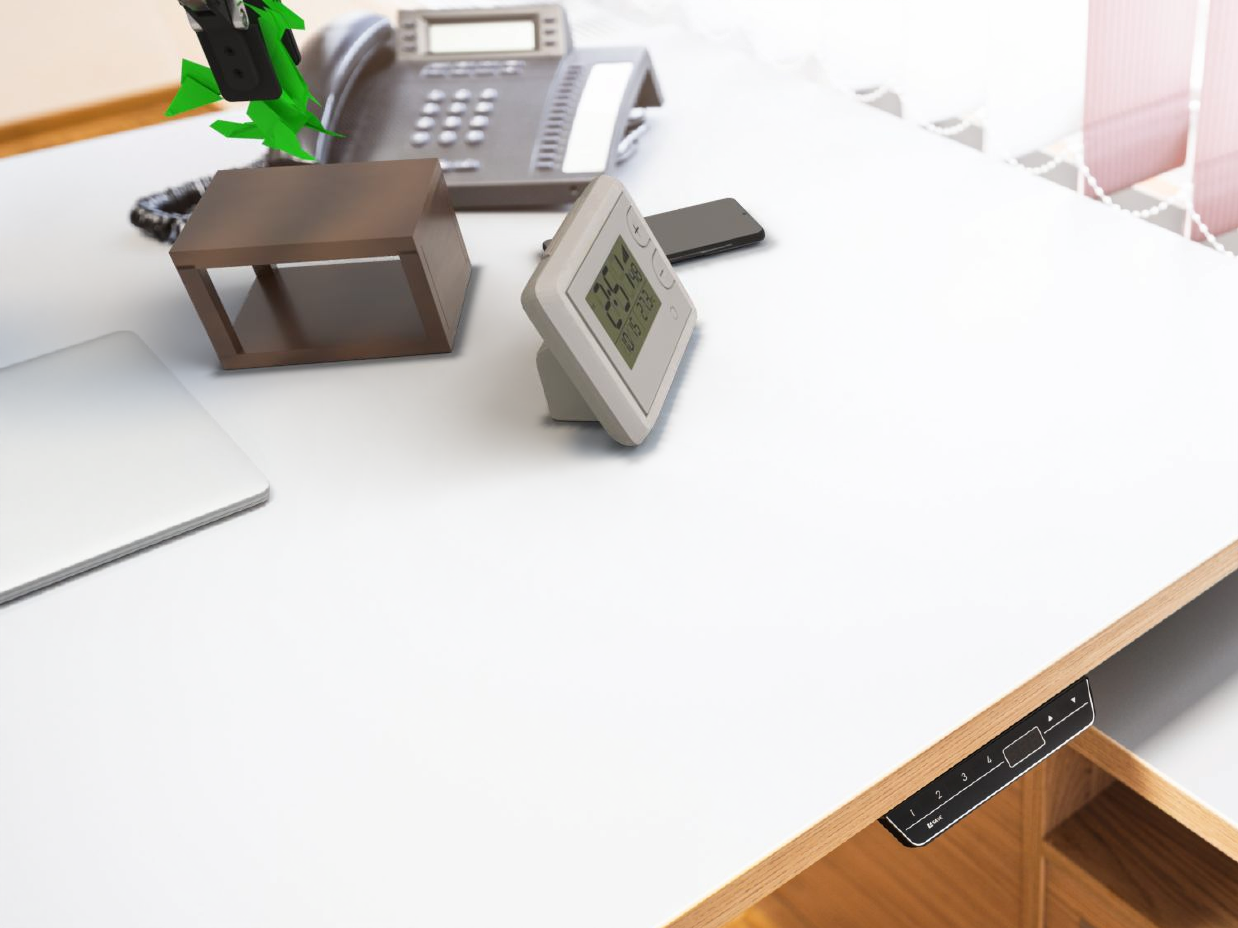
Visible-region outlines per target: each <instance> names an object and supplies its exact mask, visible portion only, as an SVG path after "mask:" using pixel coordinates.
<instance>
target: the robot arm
mask: <svg viewBox="0 0 1238 928" xmlns="http://www.w3.org/2000/svg"><path fill="white" fill-rule="evenodd" d="M177 1H178V4H179V6H180V7H182V8H183V9H184V11H185V14H186V17H187V21H188V23H189V26H190V28H191V30H192V31H193V32H194V33H195V35H196V37H197V39H198V42H199V44H200V46H201V48H202V52H203V54H204V56H205V60H206V61H207V63H208V66H209V68H210V69H211V71H212V73H213V76H214V78H215V81H216V83H217V86H218V88H219V90H220V93H221V95H220V96H221V97H222V98H223V100H224V101H226V102H229V103H241V102H250V101H263V100H277V99H279V98H280V96H281V95H282V88H281V85H280V83H279V80H278V77H277V75H276V72H275V70H274V67H273V64H272V62H271V59H270V56H269V53H268V50H267V47H266V44H265V41H264V37H263V34H262V31H261V28H260V24H259V21H258V18H259V17H261V16H260V15H259V14H258V13H257V12H256V11H254V10H253V9H252V8H251V7H249V6H247V5H246V4H244V3H247V4H249V5H251V6H254V7H256V8H258V9H261V10H263V11H266V10H265V8H264V7H266V8H268V9H271V8H270V7H269V6H268V5H267V4H265V3H264V2H263V1H262V0H177ZM241 1H242V2H244V3H242V2H241ZM272 1H273V2H275V1H274V0H272ZM276 1H277V2H278V1H280V2H281V3H282V4H283V2H282V0H276ZM263 6H264V7H263ZM271 10H272V9H271ZM281 42H282V44H283V45H284V47H285V49H286V50H287V52H288V54H289V55H290V57H291V59H292V60H293V62H294V64H295V66H296V67H297V66H299V65H300V64H301V62H302V60H303V59H302V54H301V51H300V49H299V46H298V44H297V41H296V38H295V35H294V33H293V29H285V31H284V33H283V36H282V38H281Z"/></svg>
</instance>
